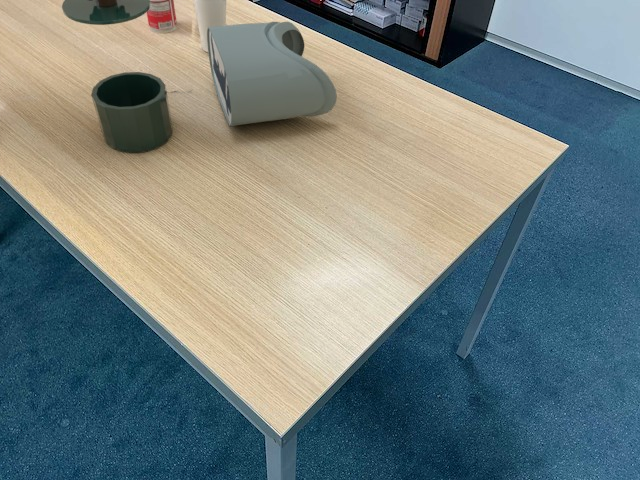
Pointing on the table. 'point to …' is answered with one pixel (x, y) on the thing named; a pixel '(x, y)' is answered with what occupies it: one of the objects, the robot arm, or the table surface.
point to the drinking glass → (209, 17)
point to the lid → (104, 10)
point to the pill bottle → (162, 16)
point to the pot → (133, 111)
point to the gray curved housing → (266, 73)
